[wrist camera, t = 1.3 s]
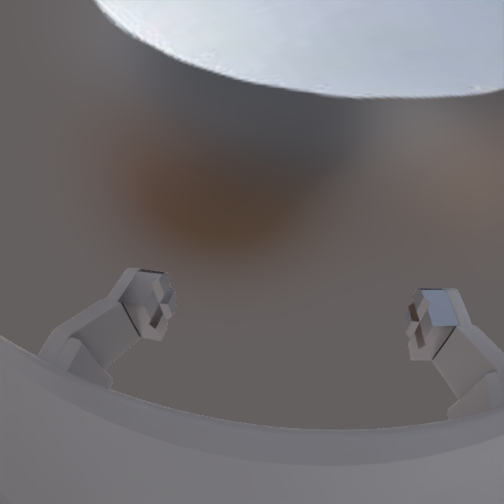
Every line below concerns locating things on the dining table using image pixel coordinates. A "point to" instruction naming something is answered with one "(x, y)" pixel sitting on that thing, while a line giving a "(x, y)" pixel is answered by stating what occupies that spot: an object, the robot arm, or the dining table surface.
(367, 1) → the dining table surface
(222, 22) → the dining table surface
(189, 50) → the dining table surface
